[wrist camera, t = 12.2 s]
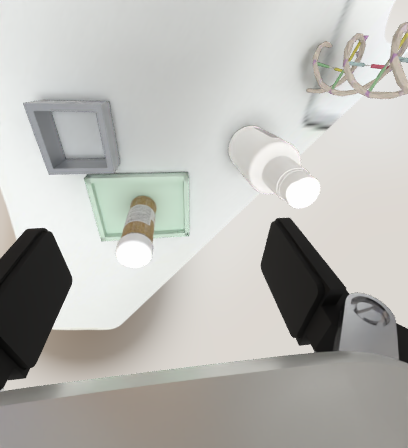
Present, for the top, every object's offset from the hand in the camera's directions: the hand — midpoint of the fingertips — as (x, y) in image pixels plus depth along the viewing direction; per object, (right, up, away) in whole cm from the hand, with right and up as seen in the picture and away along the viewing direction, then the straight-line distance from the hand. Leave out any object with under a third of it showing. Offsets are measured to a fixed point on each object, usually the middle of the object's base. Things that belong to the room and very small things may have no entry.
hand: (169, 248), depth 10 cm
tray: (-9, +4, +30) cm, 31 cm away
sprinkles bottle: (-9, +4, +29) cm, 31 cm away
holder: (-16, +14, +22) cm, 31 cm away
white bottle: (+9, +14, +27) cm, 32 cm away
